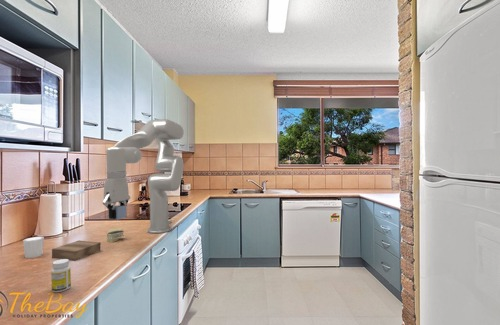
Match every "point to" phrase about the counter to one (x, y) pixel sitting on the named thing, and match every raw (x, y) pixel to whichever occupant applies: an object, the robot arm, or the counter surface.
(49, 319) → the counter surface
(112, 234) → the stacked layers on plate
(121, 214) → the slate cube
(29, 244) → the white short cylinder
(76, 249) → the walnut block
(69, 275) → the supplement bottle
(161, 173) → the robot arm
